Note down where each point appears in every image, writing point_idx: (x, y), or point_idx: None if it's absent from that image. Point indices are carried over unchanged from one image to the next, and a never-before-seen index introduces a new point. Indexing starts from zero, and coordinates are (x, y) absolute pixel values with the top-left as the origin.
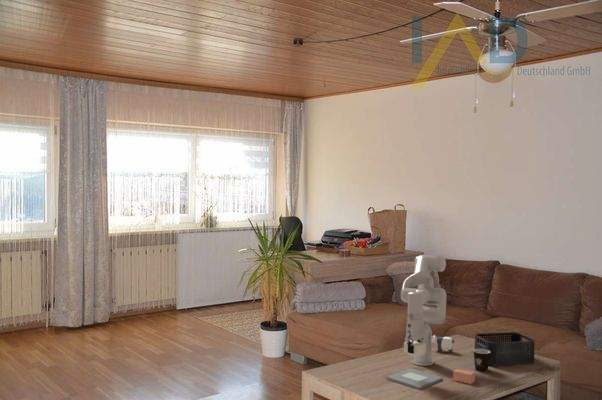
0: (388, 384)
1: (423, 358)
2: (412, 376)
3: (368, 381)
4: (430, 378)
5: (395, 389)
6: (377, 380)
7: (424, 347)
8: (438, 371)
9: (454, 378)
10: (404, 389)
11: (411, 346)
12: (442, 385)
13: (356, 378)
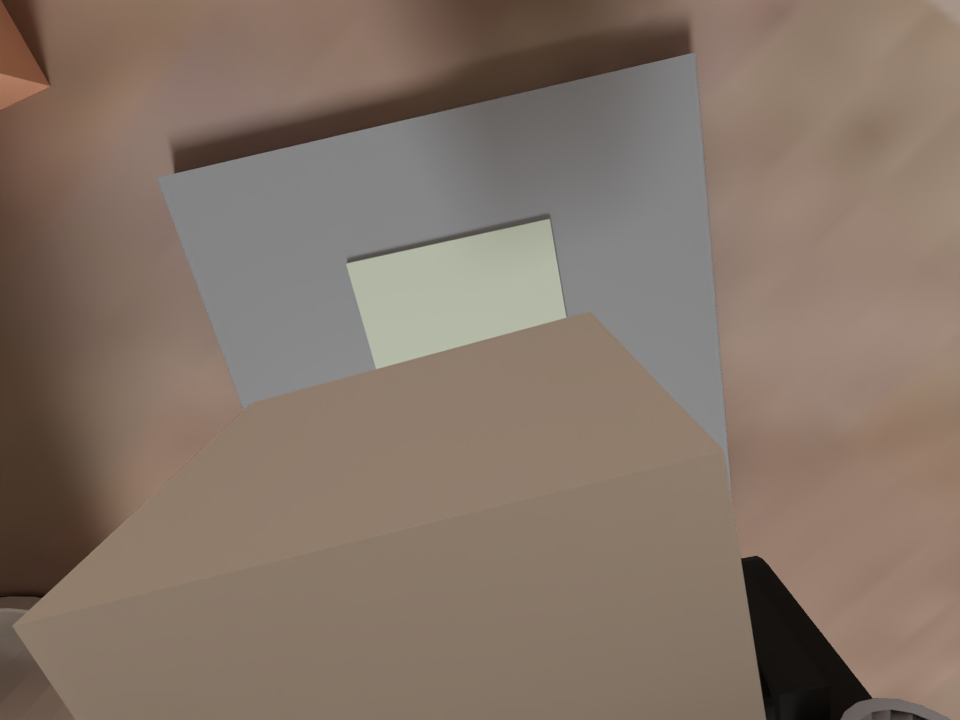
0: (831, 388)
1: (35, 696)
2: None
3: (914, 546)
4: (333, 233)
5: (902, 228)
6: (823, 526)
7: (237, 483)
8: (45, 422)
9: (15, 61)
10: (822, 171)
11: (826, 706)
12: (311, 11)
13: (931, 650)
